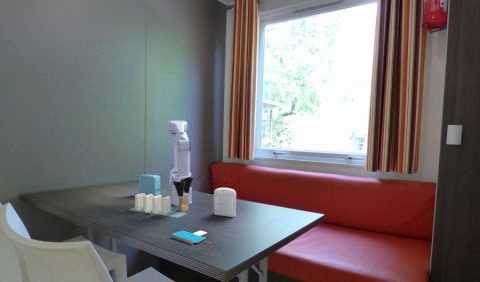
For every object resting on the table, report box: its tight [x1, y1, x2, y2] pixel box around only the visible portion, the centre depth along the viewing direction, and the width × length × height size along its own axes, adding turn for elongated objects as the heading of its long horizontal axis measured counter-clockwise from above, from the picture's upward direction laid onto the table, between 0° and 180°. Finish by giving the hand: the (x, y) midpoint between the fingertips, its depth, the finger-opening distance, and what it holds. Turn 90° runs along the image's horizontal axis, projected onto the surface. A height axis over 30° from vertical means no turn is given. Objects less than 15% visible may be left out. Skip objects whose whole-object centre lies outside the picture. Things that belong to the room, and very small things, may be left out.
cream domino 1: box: [134, 193, 145, 210], centre depth 140 cm, size 2×5×7 cm, turn 157°
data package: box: [138, 173, 161, 197], centre depth 167 cm, size 12×4×12 cm, turn 62°
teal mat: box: [128, 207, 188, 218], centre depth 136 cm, size 28×7×1 cm, turn 67°
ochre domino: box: [178, 195, 189, 213], centre depth 138 cm, size 2×5×7 cm, turn 156°
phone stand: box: [170, 230, 214, 245], centre depth 107 cm, size 20×12×2 cm, turn 54°
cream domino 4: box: [161, 195, 172, 216], centre depth 134 cm, size 2×5×7 cm, turn 157°
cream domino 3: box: [152, 194, 163, 213], centre depth 136 cm, size 2×5×7 cm, turn 157°
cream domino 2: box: [143, 194, 153, 213], centre depth 138 cm, size 2×5×7 cm, turn 156°
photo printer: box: [213, 187, 237, 218], centre depth 132 cm, size 10×4×12 cm, turn 72°
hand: (183, 194), depth 137 cm, fingers open, 7 cm apart
